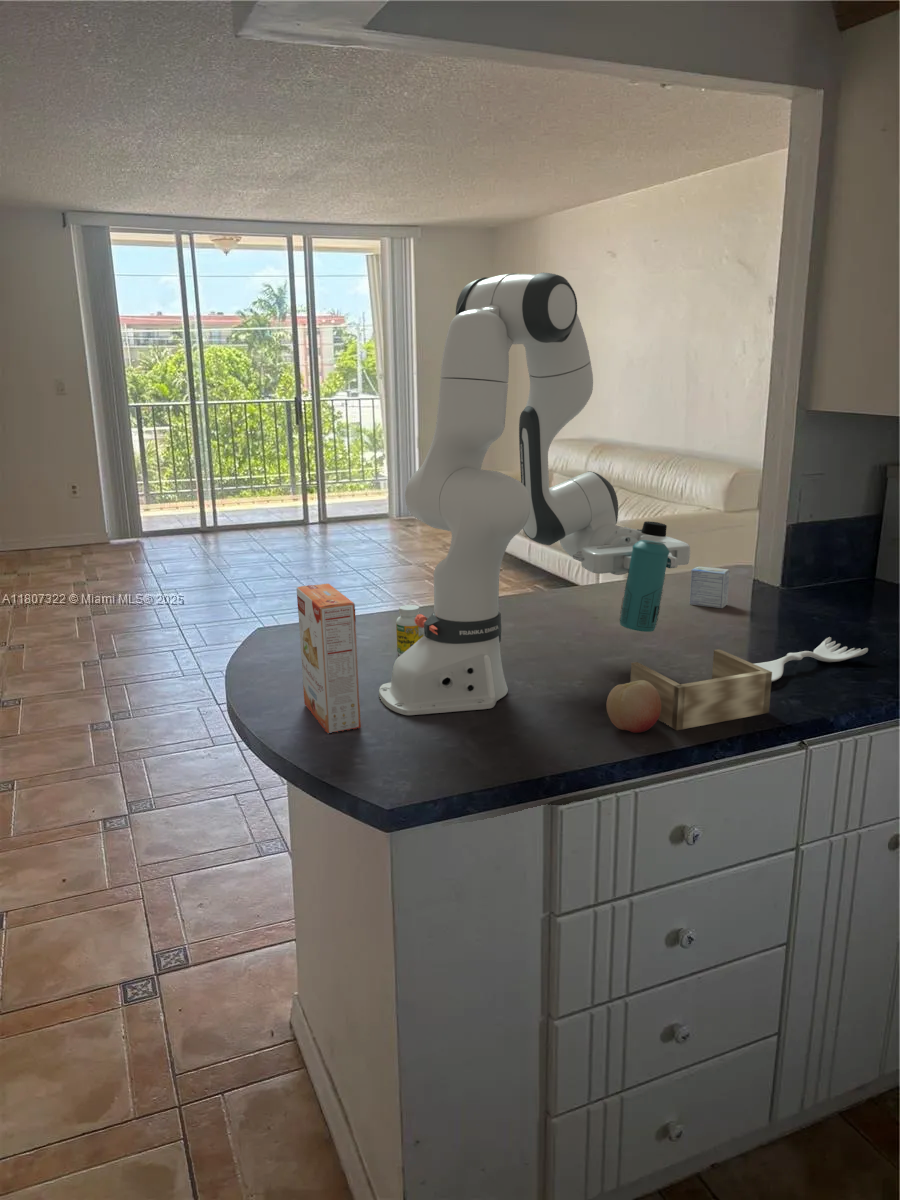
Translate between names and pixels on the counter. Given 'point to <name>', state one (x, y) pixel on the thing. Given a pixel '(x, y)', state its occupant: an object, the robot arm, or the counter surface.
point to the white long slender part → (820, 653)
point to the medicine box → (709, 587)
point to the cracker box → (329, 656)
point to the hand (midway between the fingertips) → (661, 564)
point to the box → (711, 693)
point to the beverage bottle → (645, 581)
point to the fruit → (634, 706)
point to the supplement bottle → (407, 628)
